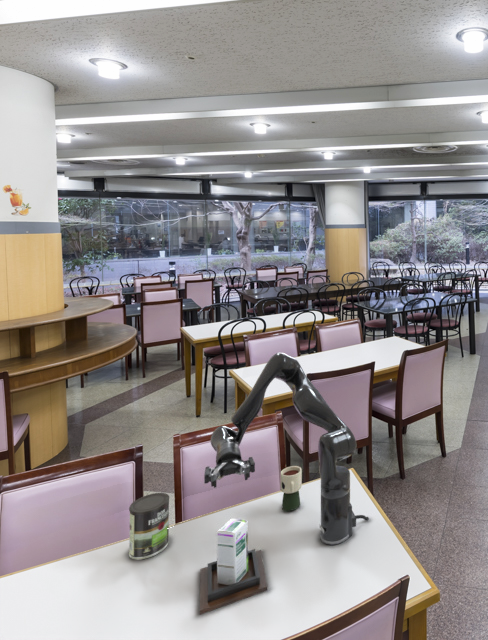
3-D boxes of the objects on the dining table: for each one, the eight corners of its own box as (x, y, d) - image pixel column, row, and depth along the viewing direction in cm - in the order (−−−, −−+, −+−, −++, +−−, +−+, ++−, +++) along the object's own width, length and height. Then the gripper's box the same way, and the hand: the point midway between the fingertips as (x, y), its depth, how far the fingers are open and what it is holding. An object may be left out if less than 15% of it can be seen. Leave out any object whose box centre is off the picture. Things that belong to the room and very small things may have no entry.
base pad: (260, 553, 130) (260, 543, 130) (267, 590, 116) (267, 579, 116) (200, 572, 123) (200, 561, 123) (199, 614, 108) (199, 602, 109)
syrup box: (235, 587, 116) (235, 533, 116) (216, 583, 117) (216, 530, 117) (248, 571, 122) (248, 519, 122) (230, 568, 123) (230, 517, 123)
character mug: (279, 501, 156) (280, 465, 156) (300, 497, 159) (300, 461, 159) (281, 519, 146) (281, 480, 146) (302, 514, 149) (302, 476, 149)
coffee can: (176, 540, 136) (177, 495, 136) (145, 563, 126) (145, 515, 126) (153, 533, 139) (153, 489, 139) (120, 555, 129) (120, 508, 129)
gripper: (204, 451, 141) (204, 474, 127) (251, 441, 148) (256, 462, 134) (204, 474, 141) (204, 499, 127) (251, 463, 148) (256, 486, 133)
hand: (231, 480), depth 130 cm, fingers open, 8 cm apart
